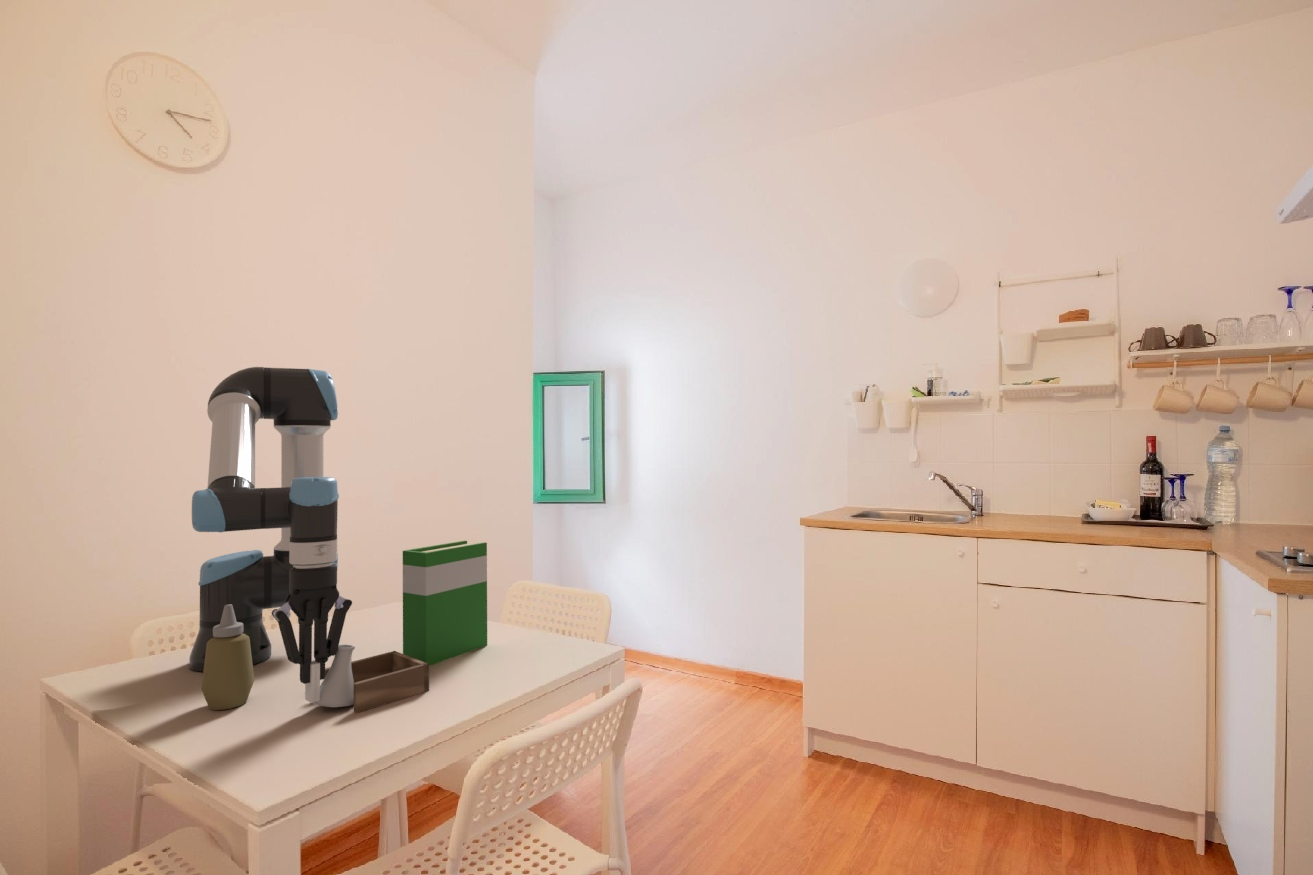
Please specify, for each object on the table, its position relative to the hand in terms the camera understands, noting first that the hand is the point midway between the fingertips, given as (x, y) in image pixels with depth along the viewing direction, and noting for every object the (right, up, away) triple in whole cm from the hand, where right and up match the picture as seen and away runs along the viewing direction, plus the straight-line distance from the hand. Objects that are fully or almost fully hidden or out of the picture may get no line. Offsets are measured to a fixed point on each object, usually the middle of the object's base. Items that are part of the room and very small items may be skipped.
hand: (312, 699), depth 116 cm
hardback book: (+13, -3, +33) cm, 36 cm away
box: (+7, -2, +9) cm, 12 cm away
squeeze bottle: (-17, -3, +4) cm, 18 cm away
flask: (+3, -2, +2) cm, 4 cm away
